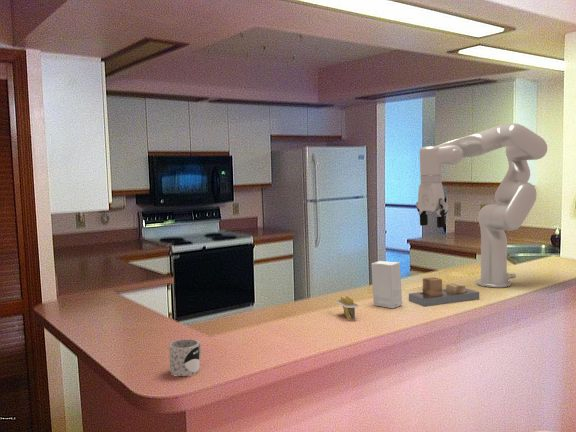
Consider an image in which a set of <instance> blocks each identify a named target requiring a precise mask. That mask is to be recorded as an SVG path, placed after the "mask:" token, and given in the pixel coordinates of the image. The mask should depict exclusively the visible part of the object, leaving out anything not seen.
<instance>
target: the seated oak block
mask: <svg viewBox="0 0 576 432" xmlns="http://www.w3.org/2000/svg"><path fill="white" fill-rule="evenodd" d="M465 288H466V284H462V283H459V282H455V283H454V282H453V283H446V286H445V289H446V292H449V293H452V294H459V293H465Z"/></svg>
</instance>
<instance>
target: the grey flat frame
mask: <svg viewBox="0 0 576 432" xmlns="http://www.w3.org/2000/svg"><path fill="white" fill-rule="evenodd" d="M475 299H477V300H480V291H477V290H476V291H475V290H473V289H469V288H466V287H465V293H459V294H452V293H449V292H446V288H445V289H443V288H442V296H435V297H429V296H426V295H423V291H420V292H411V293H408V301H409V302H412V303H414V304H417V305H419V306H422V307H429V306H436V305H437V306H438V305H444V304H452V303H453V304H455V303H460V302H467V301H468V300H469V301H476V300H475ZM469 301H468V302H469Z"/></svg>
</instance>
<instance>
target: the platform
mask: <svg viewBox="0 0 576 432" xmlns="http://www.w3.org/2000/svg"><path fill="white" fill-rule="evenodd" d="M336 303H337V304H339V305H341V306H342V308H343V314H344V315H345V317H346V320H354V321H355V320H356V311H355V310H356V309H357V308H359V307H360V305H359V304H357V303H355V302H354V299H353V298H351V297H348V296H347V295H345V296H340V299H338V300H337V301H336ZM355 308H356V309H355Z"/></svg>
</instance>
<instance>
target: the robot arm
mask: <svg viewBox="0 0 576 432" xmlns="http://www.w3.org/2000/svg"><path fill="white" fill-rule="evenodd" d="M502 148H505V156H506V158H507V162H508V169H507V172H506V173H505V176H504V178H503V179H502V181H500V184H499V185H498V187H497V189H496V191H495V193H494V199H495V201H496V203H497V204H496V203H495V204H494V203H492V204H486V205H484V206H483V207H482V208H480V210H479V212H478V224H479V229H480V278H479V279H477V280H476V284H477V285H478V286H481V287H485V286H486V287H485V288H508V287H511V285H512V284H511V283H512V282H511V281H510V279H516V278H517V275H516V273H509V272H508V269H507V267H508V263H507V262H508V239H507V234H506V232H505V231H509V232H510V231H516V230H518V229H519V228H521V226H522V225H523V224H524V222H525V220H526V218H527V217H528V215H529V213H530V212H531V210H532V208H533V206H534V205H535V203H536V200H537V195H538V194H537V189H536V187H535V185H533V184H532V183H531V182H529V181H530V177H531V169H530V166H529V164H528V161H535V160H540V159H542V158H544V157H545V156H546V155H547V152H548V144H547V142H546V140H545V139H544V138H543V137H541V136H540V135H538V134H537V133H536V132H534V131H532V130H530V129H529V128H527V127H526V126H524V125H522V124H519V123H517V122H516V123H507V124H500V125H496V126H493V127H490V128H487V129H484V130H481V131H478V132H475V133H473V134H468V135H466V136H463V137H459V138H456V139H453V140H449V141H446V142H443V143H440V144H437V145H431V146H422V147H420V149H419V174H420V175H419V177H420V180H419V181H420V184H419V185H418V193H417V202H416V203H415V207H416V211H417V212H418V215H419V225H420V226H423V227H424V226H428V223H429V222H428V220H429V219H428V214H427V213H428V212H435V213H436V214H437V216H436V228H438V229H439V228H445V227H446V217H447V213H448V209H449V207H450V205H449V203H448V202H446V201H445V193H444V192H445V191H444V186H443V182H442V180H443V179H442V166H454V165H457V164H459V163H460V162H461V161H462V160H463V159H464V158H474V157H478V156H482V155H484V154H487V153H490V152H493V151H495V150H498V149H499V150H500V149H502ZM507 286H508V287H507Z"/></svg>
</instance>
